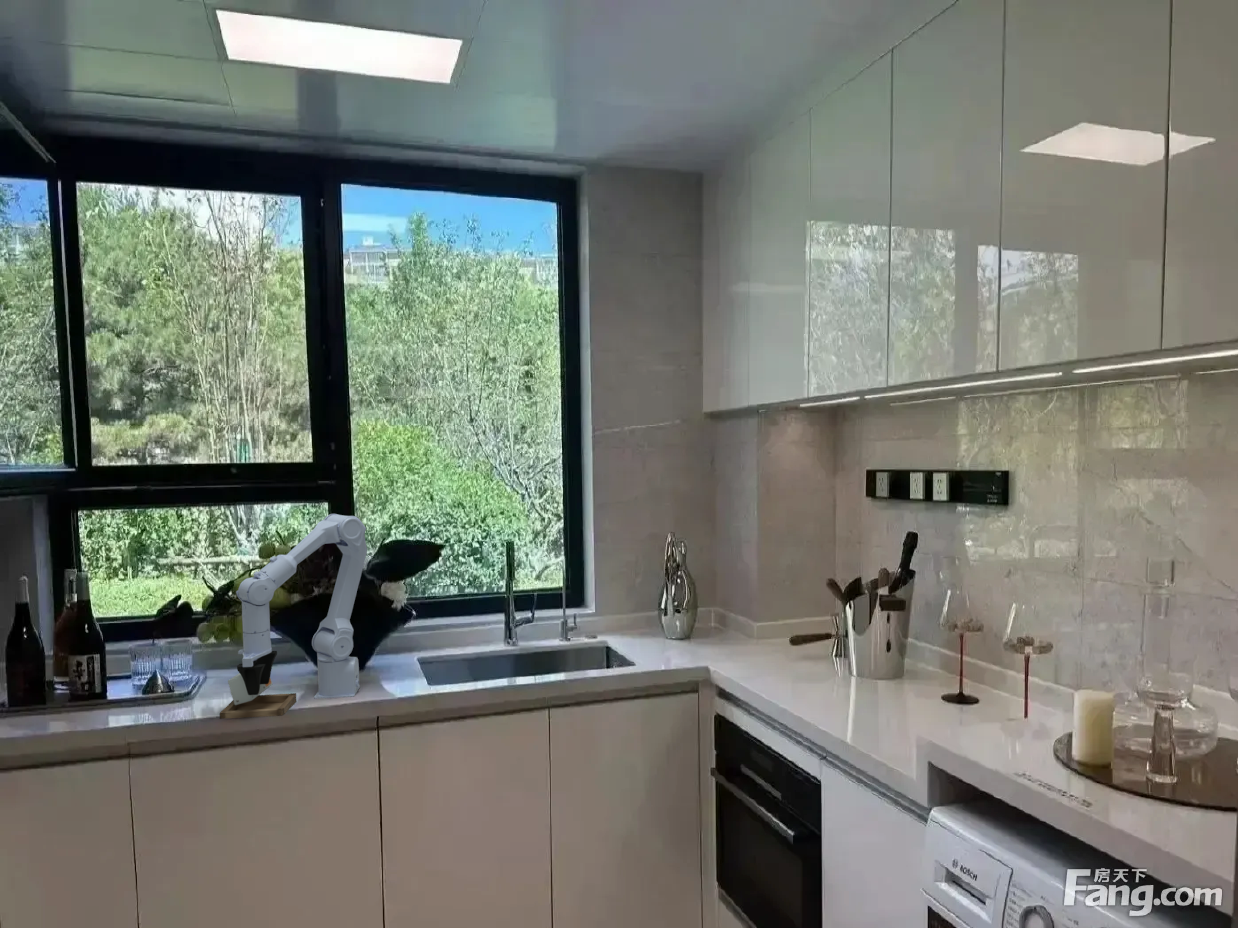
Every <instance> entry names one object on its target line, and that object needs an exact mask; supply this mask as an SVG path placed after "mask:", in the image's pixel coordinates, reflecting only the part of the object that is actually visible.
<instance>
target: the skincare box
mask: <svg viewBox="0 0 1238 928" xmlns="http://www.w3.org/2000/svg"><path fill="white" fill-rule="evenodd" d="M227 684H228V687H229V690H230V694H231V697H232V701H234V704H235V705H238V704H242V703H245V702H248V701H252V700H253V699H254V698H256V697H257V696H258V695H262V693H264V692H265V691H266V690H268V689H269V688H270V687H272V686H273V682H272V678H271V677H270V680H269V683H268V684H260V690H259V694H258V695H248V693H247V690H246V686H245V683H244V680H243V678H242V676H241V674H240V673H239V672H238V673H237V674H236V675H235V676H233V677H231V678H230V679H228V680H227Z"/></svg>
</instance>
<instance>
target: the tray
mask: <svg viewBox="0 0 1238 928" xmlns="http://www.w3.org/2000/svg"><path fill="white" fill-rule="evenodd" d="M295 704H297V693H293V692H292V693H275V694H260V695H258V696H257V697H256V698H254V699H253V700H252V701H248V702H245V703H242V704H238V705H235V704H234V701H233V700H232V701H230V702H229V703H228V705H226V706H225V707H224V708H223V709H222V710H221V711H220V713H219V719H220V720H221V719H240V718H259V717H262V718H265V717H281V716H284V715H286V713H287V712H289V710H290V709H291V708H292V707H293V706H294V705H295Z"/></svg>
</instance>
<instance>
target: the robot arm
mask: <svg viewBox="0 0 1238 928" xmlns="http://www.w3.org/2000/svg"><path fill="white" fill-rule="evenodd" d="M366 531H367V527H366V526H365V525H364V523H363V522H362V521H361V519H360V518H358V517H357V516H354V515H344V514H343V515H342V514H337V513H330V514H328V515H327V516H325V518H324V519H322V520H320V521H319V522H317V524H316V525H315V527H314V528H313V529H311V531H310V532H309V533H308V534H307V535H305V537H304V538H303V539H301V541H300V542H298V543H297V544H296V545H295V546H294V547H293V548H292V549H291V550H289V552H288V553H286V554H278V555H276V556H275V555H273V556H271V557H270V558H269V562H268V563H267V564H266V565H265V566H264V567H262V568H261V569H260V570H259V571H258V570H256V571H254V573H253V574H252V575H253V577H247V578H245V579H244V580H242V581H241V583H240V584H239V587H238V590H236V592H235V593H236V596H237V598H238V599H239V601H241V616H242V617H241V619H242V643H243V645H242V646H243V648H241V649H239V650H238V651H237V655H242V659H241V661H242V663H239V664H238V665H236V670H237V672H238V674H239V673H240V674H241V676H242V678H243V680H244V683H245V686H246V690H247V693H248V695H258V694H259V690H260V684H268V683H269V680H270V678H271V674H272V669H273V664H274V662H275V659H276V657H277V655H278V651H277V650H273V648H272V641H271V622H270V621H271V620H270V619H271V617H270V613H271V612H270V601H272V599H273V598H274V595H275V591H276V590H277V589H278V588H280V587H282V585H283V584H284V583H285V582H287V581H288V580H289V579H290V578H291V577H292V576H294V574H296V573H297V566H298V564H300V563H301V562H303V561H304V560H305V559H307V558H308V557H309V556H311V554H313V553H314V552H316V551H317V550H318V549H319V548H321V547H322V546H323V545H325V544H335V545H336V547H337V548H338V549H339V550H340V552H341V553H342V557H341V561H340V565H339V569H338V572H337V577H336V581H335V585H334V588H333V592H332V596H331V600H330V604H329V608H328V612H327V615H326V617H325V618H324V619H322V620H321V621H320V622H319V626H318V629H317V631H316V632H315V633H314V635H313V637H312V639H311V646H312V649H313V650H314V651H315V652H316V656H317V661H316V662H317V679H318V681H317V683H318V684H317V687H318V690H317V692H316V694H315V695H314V696H313V699H316V700H317V699H337V698H354V697H355V695H357V693H358V691H359V689H360V688H361V686H360V667H359V659H358V656H350V654H351V653H352V651H353V648H354V639H353V636H354V627H353V625H352V624H351V620H350V619H351V616H352V613H353V609H354V606H355V605H354V604H355V600H356V597H357V591H358V588H359V585H360V581H361V577H362V573H363V570H364V569H363V568H364V566H365V565H364V564H365V561H366V558H367V552H368V546H367V542H366V536H365V534H366Z"/></svg>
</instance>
